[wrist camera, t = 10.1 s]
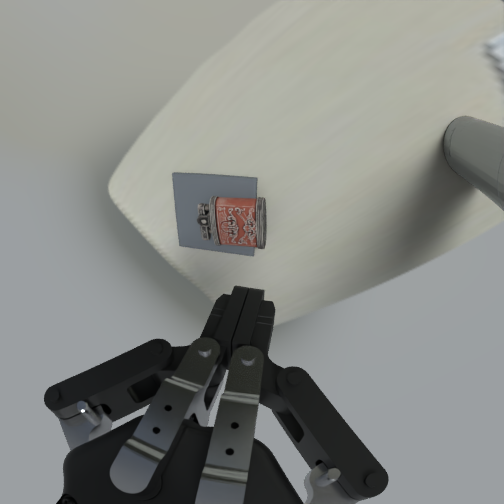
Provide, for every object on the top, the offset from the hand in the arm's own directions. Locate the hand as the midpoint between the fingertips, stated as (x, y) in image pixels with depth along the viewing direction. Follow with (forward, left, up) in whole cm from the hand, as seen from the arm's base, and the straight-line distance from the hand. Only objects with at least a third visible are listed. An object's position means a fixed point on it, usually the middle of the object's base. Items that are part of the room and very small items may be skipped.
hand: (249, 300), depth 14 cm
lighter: (+3, +9, -25) cm, 26 cm away
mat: (+11, +9, -27) cm, 31 cm away
